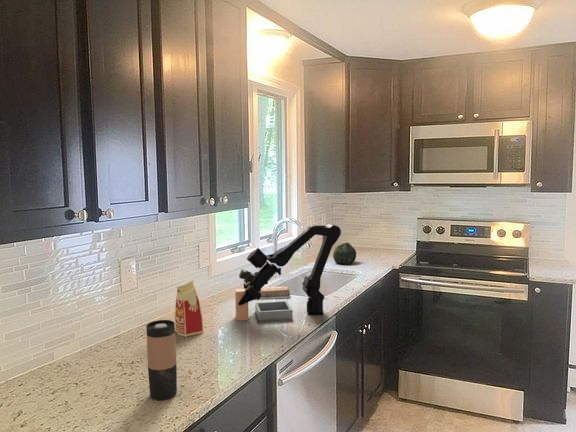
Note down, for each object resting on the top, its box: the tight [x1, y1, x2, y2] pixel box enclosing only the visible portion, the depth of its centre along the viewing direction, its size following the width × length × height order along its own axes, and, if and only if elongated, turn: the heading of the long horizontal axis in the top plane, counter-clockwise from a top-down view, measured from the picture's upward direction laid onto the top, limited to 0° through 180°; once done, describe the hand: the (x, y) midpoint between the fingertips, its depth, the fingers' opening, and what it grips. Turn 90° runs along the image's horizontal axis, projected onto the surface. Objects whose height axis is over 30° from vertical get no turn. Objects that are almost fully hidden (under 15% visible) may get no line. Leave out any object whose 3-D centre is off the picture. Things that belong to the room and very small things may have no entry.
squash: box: [332, 242, 357, 266], centre depth 307 cm, size 14×15×15 cm
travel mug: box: [145, 319, 178, 401], centre depth 129 cm, size 8×8×20 cm
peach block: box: [234, 287, 250, 321], centre depth 196 cm, size 5×5×12 cm
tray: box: [254, 300, 294, 323], centre depth 200 cm, size 14×14×4 cm
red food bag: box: [174, 279, 205, 337], centre depth 180 cm, size 9×9×20 cm
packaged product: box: [259, 285, 291, 300], centre depth 231 cm, size 18×5×10 cm
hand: (238, 302), depth 196 cm, fingers open, 5 cm apart
